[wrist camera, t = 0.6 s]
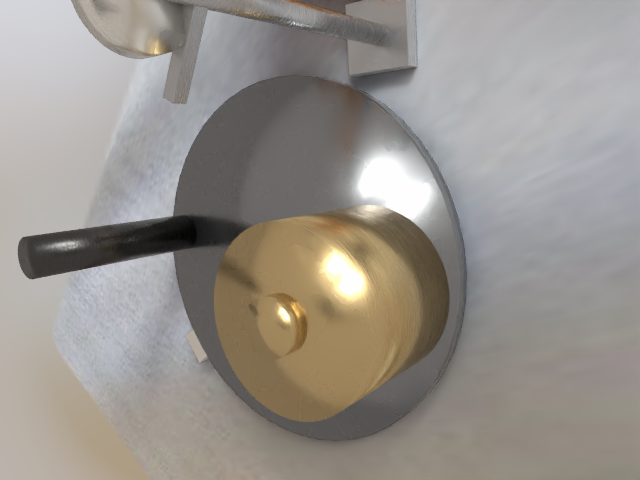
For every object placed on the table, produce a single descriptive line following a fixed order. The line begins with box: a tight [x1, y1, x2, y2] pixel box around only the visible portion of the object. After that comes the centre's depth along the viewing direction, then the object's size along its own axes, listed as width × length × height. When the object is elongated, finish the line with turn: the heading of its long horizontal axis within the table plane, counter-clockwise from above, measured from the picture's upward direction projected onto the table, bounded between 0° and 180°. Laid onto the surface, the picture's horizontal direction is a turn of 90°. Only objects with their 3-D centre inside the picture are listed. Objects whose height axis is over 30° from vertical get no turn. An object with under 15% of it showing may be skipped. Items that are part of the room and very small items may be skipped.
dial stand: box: [71, 0, 417, 104], centre depth 27 cm, size 7×4×18 cm, turn 4°
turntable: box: [18, 75, 467, 441], centre depth 34 cm, size 24×24×13 cm
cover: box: [214, 205, 450, 422], centre depth 31 cm, size 10×10×9 cm
